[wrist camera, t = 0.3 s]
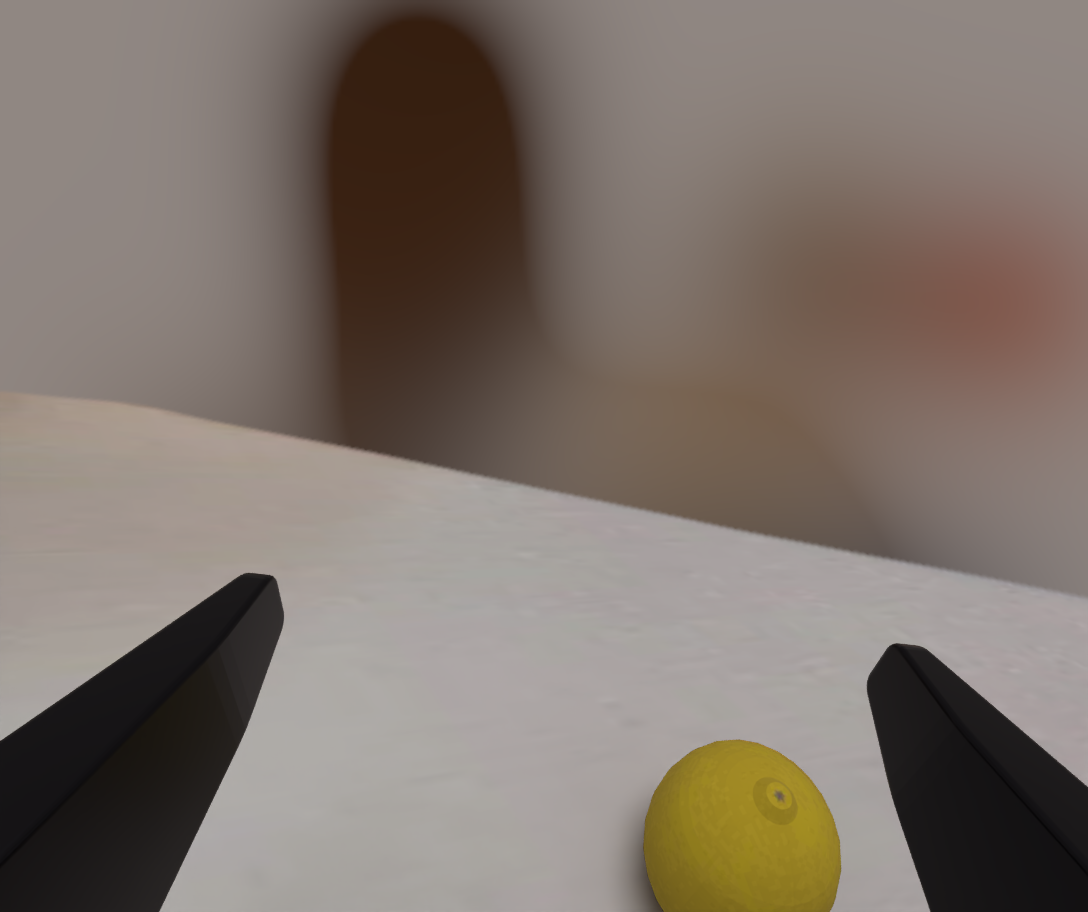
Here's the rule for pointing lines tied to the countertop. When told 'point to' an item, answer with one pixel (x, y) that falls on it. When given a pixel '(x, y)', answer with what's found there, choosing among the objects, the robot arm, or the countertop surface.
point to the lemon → (740, 834)
